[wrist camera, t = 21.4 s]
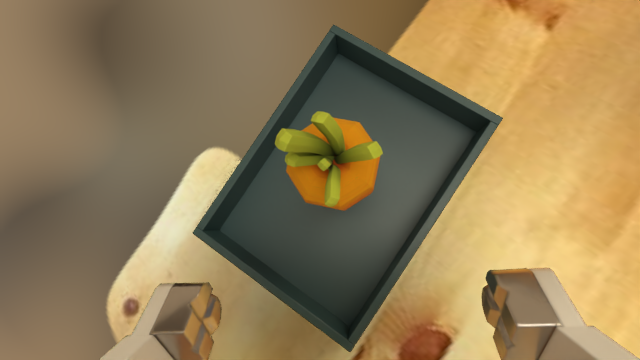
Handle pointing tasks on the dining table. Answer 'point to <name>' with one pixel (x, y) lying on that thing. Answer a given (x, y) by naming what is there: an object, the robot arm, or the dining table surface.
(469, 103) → the tray
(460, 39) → the dining table surface
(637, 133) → the dining table surface
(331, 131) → the carrot
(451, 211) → the dining table surface
